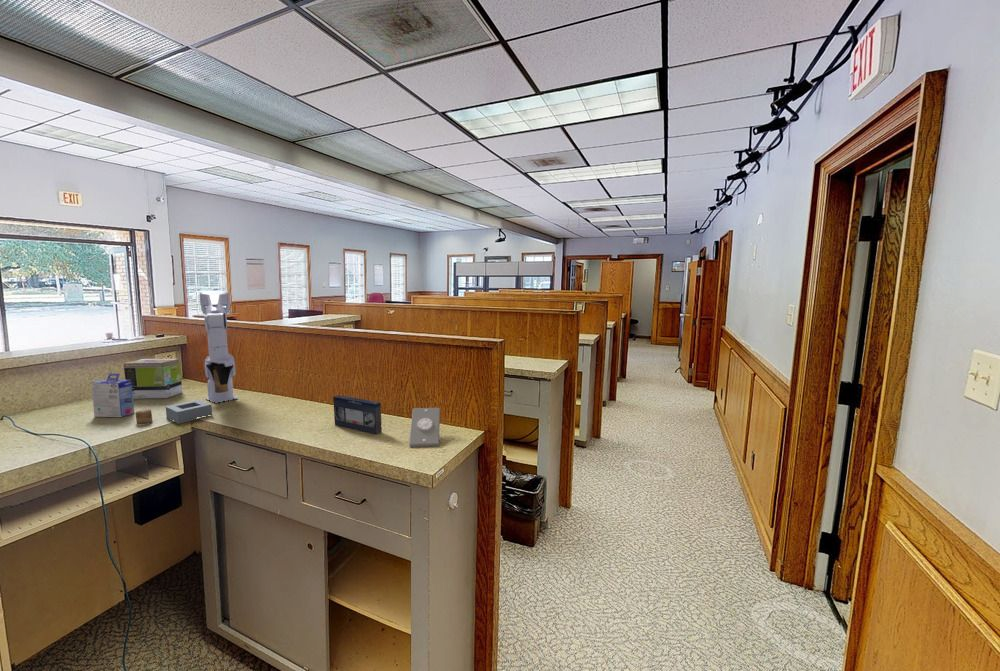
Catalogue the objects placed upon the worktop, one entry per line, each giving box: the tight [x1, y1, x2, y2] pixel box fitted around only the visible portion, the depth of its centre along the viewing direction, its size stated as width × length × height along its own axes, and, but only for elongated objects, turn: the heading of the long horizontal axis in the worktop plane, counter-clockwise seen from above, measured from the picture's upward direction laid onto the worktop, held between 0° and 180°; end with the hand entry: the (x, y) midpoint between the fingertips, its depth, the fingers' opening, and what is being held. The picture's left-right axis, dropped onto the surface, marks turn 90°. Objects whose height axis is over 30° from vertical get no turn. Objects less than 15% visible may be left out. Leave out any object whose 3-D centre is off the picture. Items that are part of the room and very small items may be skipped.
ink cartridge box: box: [91, 373, 135, 418], centre depth 145 cm, size 10×6×14 cm, turn 89°
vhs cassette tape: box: [333, 394, 383, 435], centre depth 135 cm, size 18×3×10 cm, turn 62°
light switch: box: [408, 407, 441, 448], centre depth 128 cm, size 8×6×14 cm
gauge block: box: [165, 399, 213, 424], centre depth 145 cm, size 10×10×4 cm
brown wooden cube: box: [134, 409, 153, 426], centre depth 139 cm, size 4×4×4 cm
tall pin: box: [213, 370, 228, 393], centre depth 152 cm, size 4×4×8 cm
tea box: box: [123, 357, 183, 400], centre depth 169 cm, size 15×10×15 cm
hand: (221, 383), depth 152 cm, fingers closed on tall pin, 4 cm apart
